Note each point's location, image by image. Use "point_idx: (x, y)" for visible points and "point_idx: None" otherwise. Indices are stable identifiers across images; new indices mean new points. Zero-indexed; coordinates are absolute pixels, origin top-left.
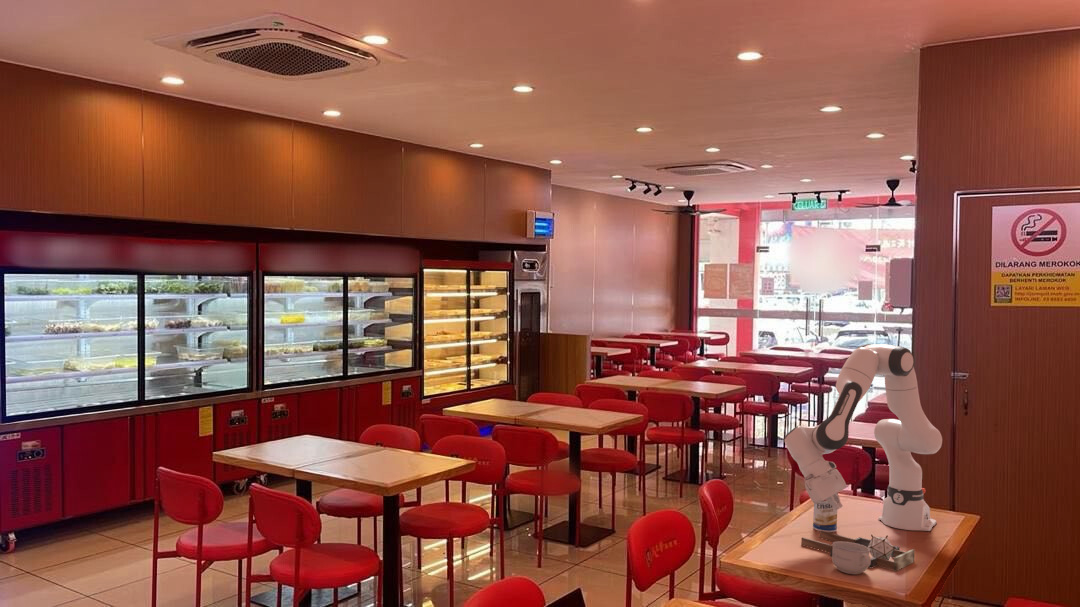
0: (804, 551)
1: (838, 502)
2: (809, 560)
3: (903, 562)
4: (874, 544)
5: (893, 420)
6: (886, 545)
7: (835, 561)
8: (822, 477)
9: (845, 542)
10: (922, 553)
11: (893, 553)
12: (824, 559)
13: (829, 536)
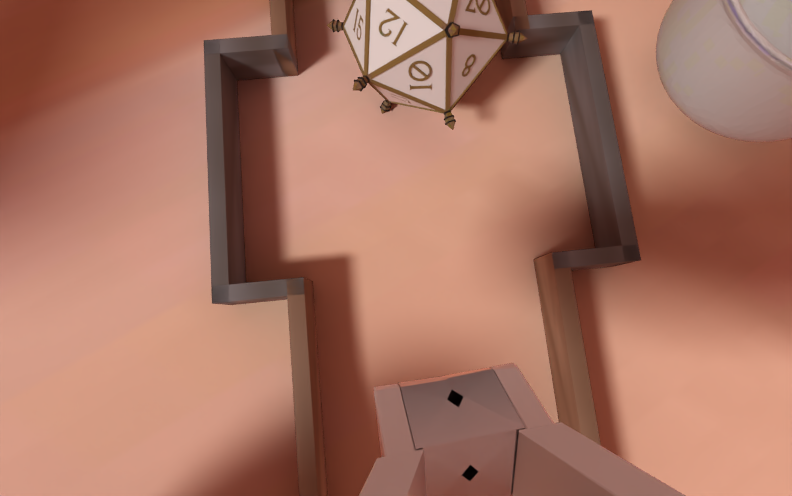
0: (677, 417)
1: (414, 467)
2: (783, 294)
3: None
4: (492, 15)
5: None
6: None
7: None
8: None
9: (789, 60)
10: (80, 13)
11: (291, 51)
12: (686, 257)
13: (321, 480)
